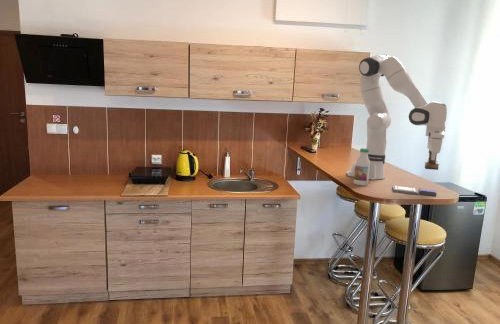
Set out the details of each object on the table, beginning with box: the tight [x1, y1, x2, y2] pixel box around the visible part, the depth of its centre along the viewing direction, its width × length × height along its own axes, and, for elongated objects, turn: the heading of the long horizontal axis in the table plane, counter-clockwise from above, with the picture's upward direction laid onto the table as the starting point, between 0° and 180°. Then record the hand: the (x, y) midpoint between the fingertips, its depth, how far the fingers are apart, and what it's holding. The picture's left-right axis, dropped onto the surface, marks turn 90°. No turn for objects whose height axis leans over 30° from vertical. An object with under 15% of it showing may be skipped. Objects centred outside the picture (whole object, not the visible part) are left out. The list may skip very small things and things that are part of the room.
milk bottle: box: [353, 147, 370, 186], centre depth 218 cm, size 8×8×20 cm
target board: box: [392, 185, 419, 196], centre depth 210 cm, size 12×10×2 cm
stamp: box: [424, 149, 440, 171], centre depth 208 cm, size 6×4×11 cm
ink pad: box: [417, 187, 437, 197], centre depth 207 cm, size 8×6×2 cm
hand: (432, 159), depth 208 cm, fingers closed on stamp, 4 cm apart
